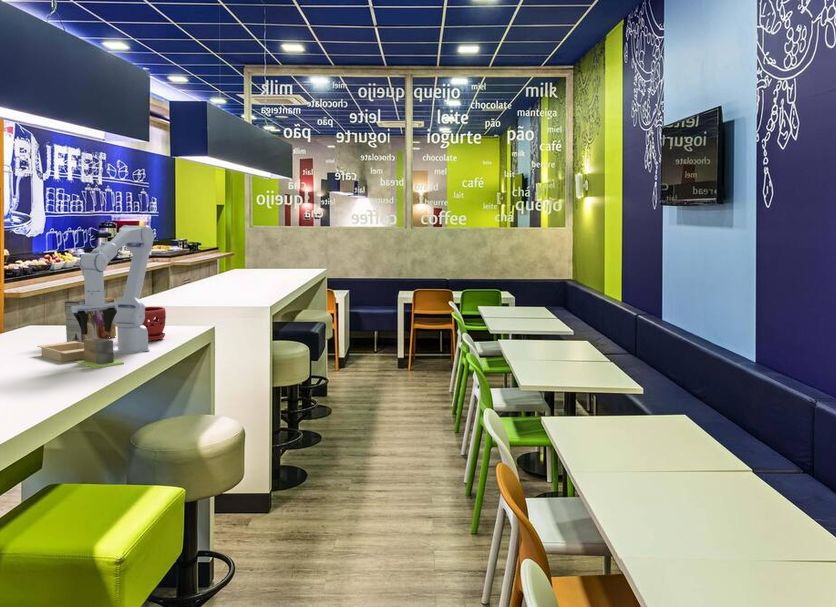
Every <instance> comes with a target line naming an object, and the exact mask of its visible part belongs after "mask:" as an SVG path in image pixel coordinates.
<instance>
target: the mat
mask: <svg viewBox="0 0 836 607" xmlns="http://www.w3.org/2000/svg"><path fill="white" fill-rule="evenodd" d="M73 361H74V363H76V364H79V365H83V366H87V367H88V368H90V369H93V370H94V369H100V367H101V368H106V367H112V366H118V365H119V364H120V365H123V364H125V362H124V361H122V360H119V359H118V360H117V359H114V362H113V363H107V364H101V365H100V364H96V363H91V362H86V361H84V359H82V360H81V359H80V360H73Z"/></svg>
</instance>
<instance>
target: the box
mask: <svg viewBox="0 0 836 607" xmlns="http://www.w3.org/2000/svg"><path fill="white" fill-rule="evenodd" d="M113 350H114V340H111V339H108V338H107V339H101V338H90V339H84V358H83V360H84V361H86V362H91V363H96V364H100V365H101V364H107V363H113V362H114V360H115V359H114V357H115V356H114V351H113Z"/></svg>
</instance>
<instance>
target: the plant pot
mask: <svg viewBox="0 0 836 607" xmlns="http://www.w3.org/2000/svg"><path fill="white" fill-rule="evenodd" d="M166 315H167V313H166V308H165V307H162V306H145V320H144V322H143V324H142V325H144V326H145V327H146V328H147V331H148V342H152V341H151V340H156V341H159V340H158V339H160V340H162V339H164V338H165V337H166V333H165V332H164V329H165V327H166V318H167V316H166Z"/></svg>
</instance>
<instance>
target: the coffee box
mask: <svg viewBox="0 0 836 607" xmlns="http://www.w3.org/2000/svg"><path fill="white" fill-rule="evenodd" d="M84 304H85V298H79V299H73V300H72V299H71V300H67V301H66V300H65V301H64V313H65V330H66V332H65V333H66V336H65V337H66V342H72V341H77V342H81V343H84V339H90V338H97V326H96V310H95V311H85V312H86V313H87V314H89V315H88V321H87V328H88V333H87V335H84V334H82V331H81V328H80V325H79V323H78V321H77V319H76V318H75V316H74V314H73V312H72V310H71V306H78V305H84ZM91 309H96V308H91Z"/></svg>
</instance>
